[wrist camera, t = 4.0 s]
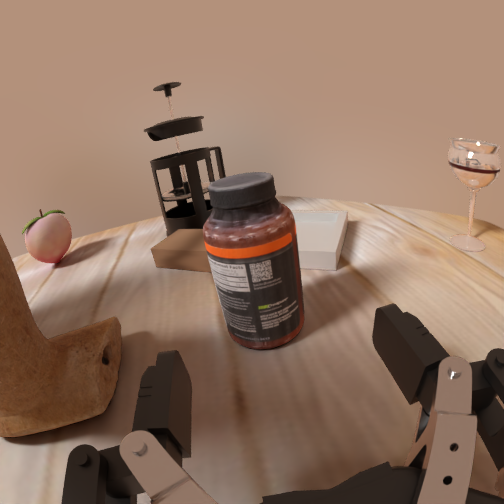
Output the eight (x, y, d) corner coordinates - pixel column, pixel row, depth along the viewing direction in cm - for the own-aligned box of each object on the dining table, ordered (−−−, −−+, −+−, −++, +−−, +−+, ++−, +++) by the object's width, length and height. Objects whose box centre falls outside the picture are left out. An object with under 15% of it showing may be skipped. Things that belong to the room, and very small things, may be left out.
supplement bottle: (268, 295, 26) (248, 166, 21) (321, 321, 21) (311, 170, 17) (213, 328, 23) (176, 188, 18) (262, 366, 18) (229, 196, 13)
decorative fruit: (53, 277, 37) (31, 217, 33) (31, 275, 40) (11, 222, 35) (89, 250, 45) (72, 196, 41) (65, 251, 48) (48, 202, 43)
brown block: (156, 267, 35) (150, 248, 34) (183, 245, 39) (178, 229, 38) (218, 272, 31) (213, 251, 30) (241, 248, 36) (238, 229, 35)
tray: (227, 263, 32) (223, 247, 32) (264, 223, 42) (262, 210, 41) (336, 270, 28) (335, 252, 27) (348, 224, 37) (347, 210, 36)
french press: (172, 248, 39) (136, 83, 30) (157, 232, 47) (127, 97, 37) (245, 222, 44) (219, 71, 34) (218, 211, 52) (195, 85, 42)
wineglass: (496, 241, 26) (505, 145, 21) (483, 261, 23) (495, 148, 18) (454, 227, 32) (458, 137, 26) (434, 243, 29) (438, 139, 24)
